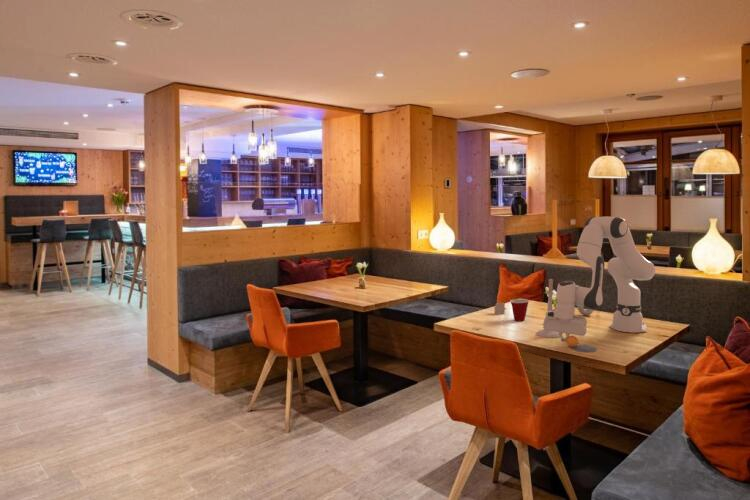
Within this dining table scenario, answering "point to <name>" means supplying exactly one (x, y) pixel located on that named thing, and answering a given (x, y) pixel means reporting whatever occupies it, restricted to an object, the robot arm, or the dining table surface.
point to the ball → (572, 341)
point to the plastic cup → (519, 309)
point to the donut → (585, 311)
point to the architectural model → (500, 308)
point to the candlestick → (545, 332)
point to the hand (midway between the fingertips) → (563, 341)
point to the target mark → (584, 348)
